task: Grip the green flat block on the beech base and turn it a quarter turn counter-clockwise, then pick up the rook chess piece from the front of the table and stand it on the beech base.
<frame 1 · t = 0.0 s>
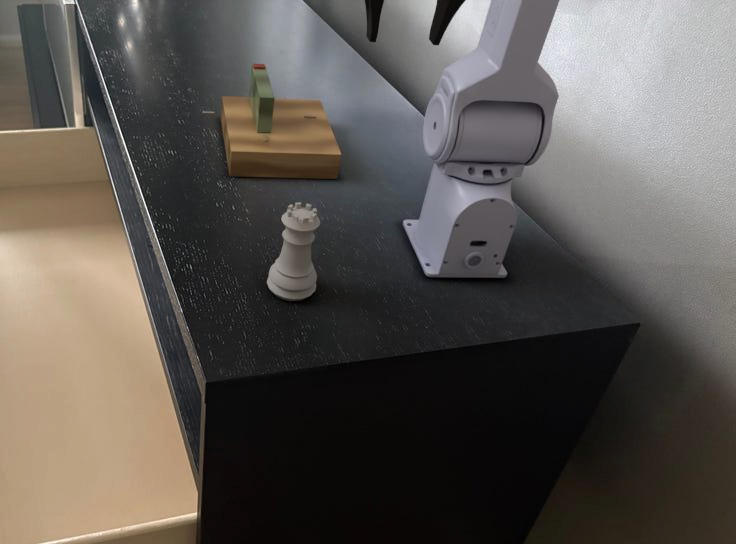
hand: (402, 40, 89), 10 cm above the dresser, tool pointing down, fingers open, 7 cm apart
green flat block: (261, 97, 86), point 5 cm above the dresser, hinge at 0.0°
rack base: (276, 148, 88), on the dresser
rook chess piece: (290, 289, 68), on the dresser
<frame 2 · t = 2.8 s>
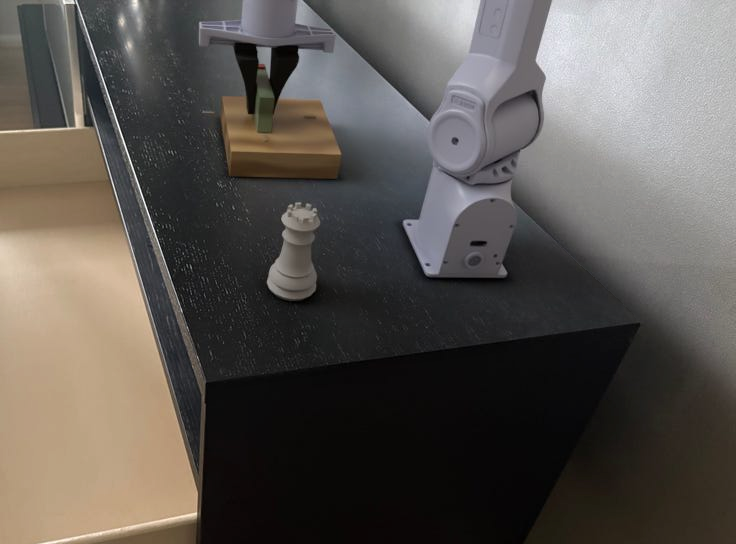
hand: (260, 111, 87), 4 cm above the dresser, tool pointing down, fingers closed on green flat block, 2 cm apart
green flat block: (261, 97, 86), point 5 cm above the dresser, hinge at 0.0°, touching gripper
everything else where it was.
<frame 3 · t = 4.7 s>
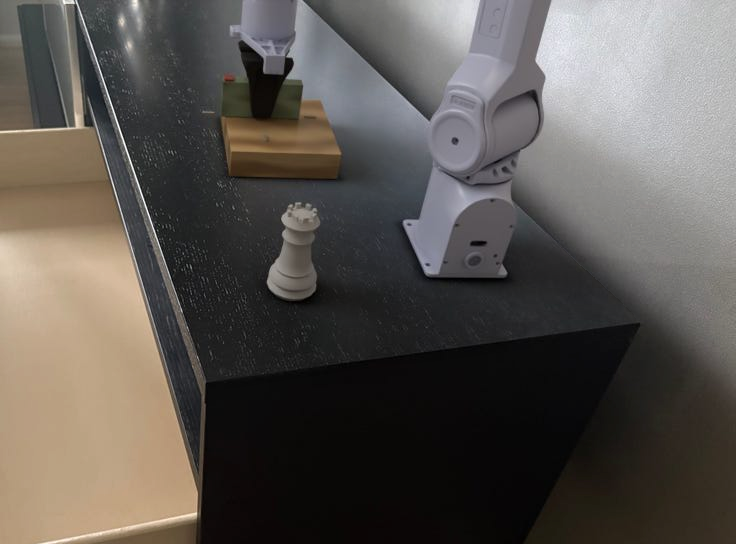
hand: (260, 112, 87), 3 cm above the dresser, tool pointing down, fingers closed on green flat block, 2 cm apart
green flat block: (261, 97, 86), point 5 cm above the dresser, hinge at 89.8°, touching gripper
everything else where it was.
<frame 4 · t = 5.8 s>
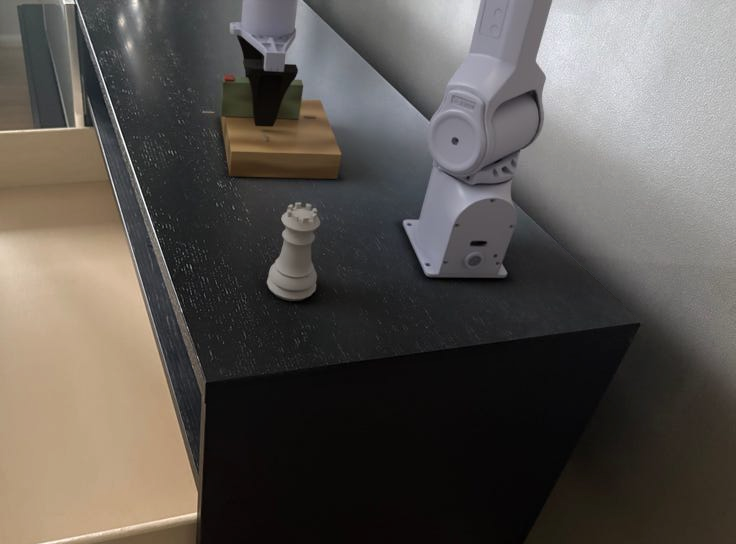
hand: (260, 110, 87), 4 cm above the dresser, tool pointing down, fingers open, 7 cm apart
green flat block: (261, 97, 86), point 5 cm above the dresser, hinge at 89.8°
everything else where it was.
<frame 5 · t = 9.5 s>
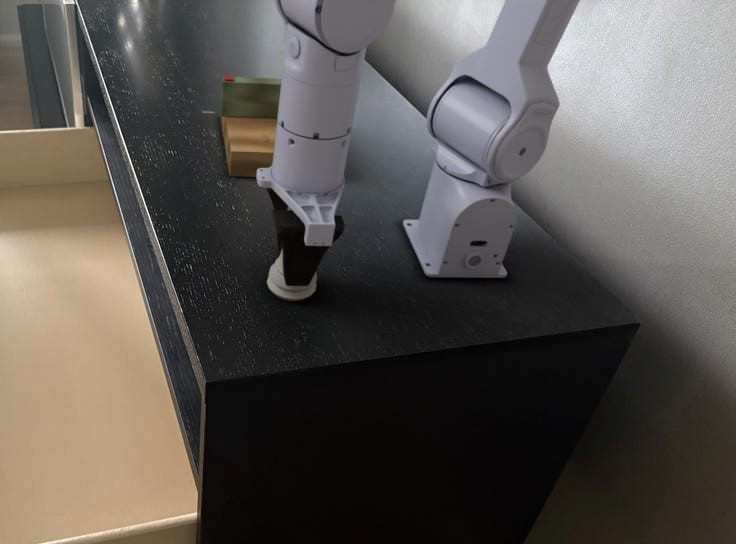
hand: (293, 269, 66), 2 cm above the dresser, tool pointing down, fingers closed on rook chess piece, 3 cm apart
rook chess piece: (290, 289, 68), on the dresser, touching gripper
everything else where it was.
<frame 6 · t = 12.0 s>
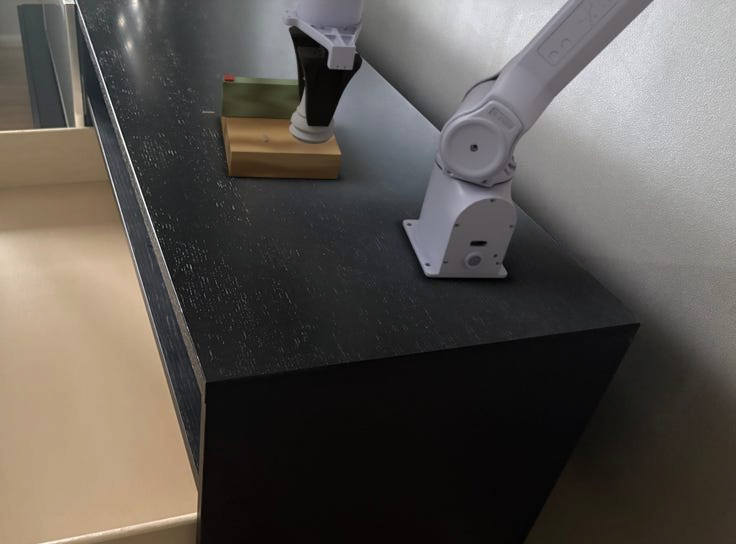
hand: (314, 115, 73), 9 cm above the dresser, tool pointing down, fingers closed on rook chess piece, 3 cm apart
rook chess piece: (310, 137, 74), point 7 cm above the dresser, touching gripper
everything else where it was.
when the fingers open (5 cm above the dresser, at t = 14.4 s): rook chess piece stays where it is, resting on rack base.
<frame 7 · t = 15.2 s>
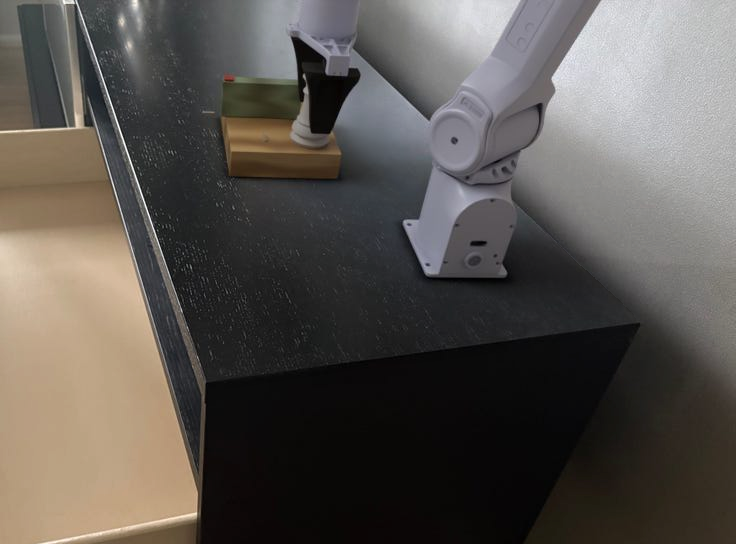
hand: (314, 116, 81), 6 cm above the dresser, tool pointing down, fingers open, 7 cm apart
rook chess piece: (309, 142, 83), point 3 cm above the dresser, touching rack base
everything else where it was.
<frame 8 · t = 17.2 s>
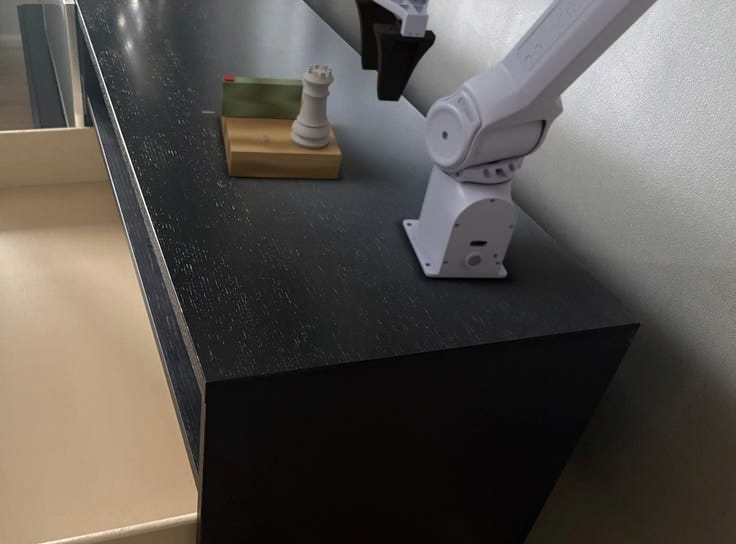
hand: (379, 83, 78), 10 cm above the dresser, tool pointing down, fingers open, 7 cm apart
nothing on the dresser moved.
at the end: green flat block at +90° (first picture: +0°); rook chess piece 0.1 cm from the target spot on the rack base, point 2.8 cm above the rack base's base; rook chess piece tilted 0° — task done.
